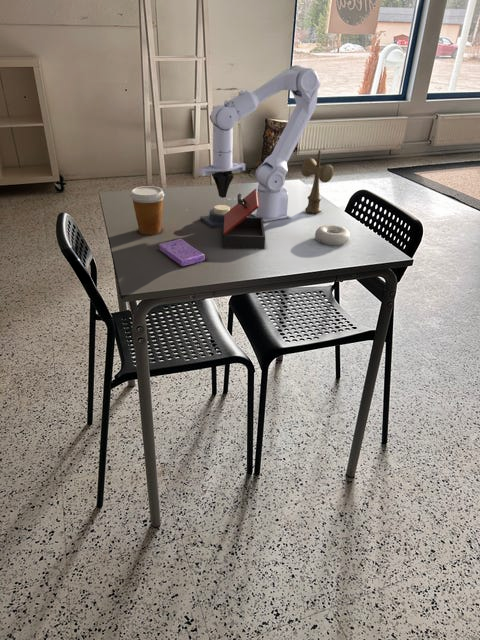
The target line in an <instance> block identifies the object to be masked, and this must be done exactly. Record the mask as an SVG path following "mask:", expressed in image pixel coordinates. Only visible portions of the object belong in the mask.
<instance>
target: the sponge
mask: <svg viewBox="0 0 480 640" xmlns="http://www.w3.org/2000/svg"><path fill="white" fill-rule="evenodd" d="M158 246H159V251H160V252H162V253H163V254H165V255H166V256H167V257H169V258H170V259H171V260H173V261H174V262H176V263H177V264H178V265H180V266H182V267H185V266H186V267H187V266H189V265H193V264H197V263H200V262H203V261H205V260H206V256H205V254H204V253H203V252H201V251H200V250H198V249H196V248H195V247H193V246H192V245H190V243H188V242H187V241H185V240H184V239H182V238H178V239H173V240H170V241H167V242H161V243H158Z"/></svg>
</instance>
